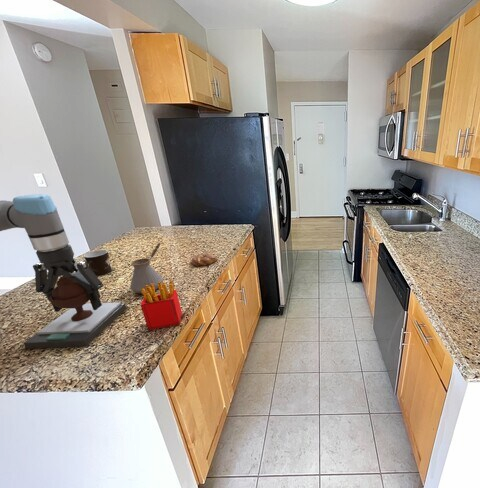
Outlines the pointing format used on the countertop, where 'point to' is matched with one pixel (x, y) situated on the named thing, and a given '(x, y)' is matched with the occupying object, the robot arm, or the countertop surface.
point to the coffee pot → (144, 274)
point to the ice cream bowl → (71, 297)
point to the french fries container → (161, 306)
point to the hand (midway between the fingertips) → (79, 308)
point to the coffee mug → (98, 262)
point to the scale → (75, 327)
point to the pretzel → (203, 259)
